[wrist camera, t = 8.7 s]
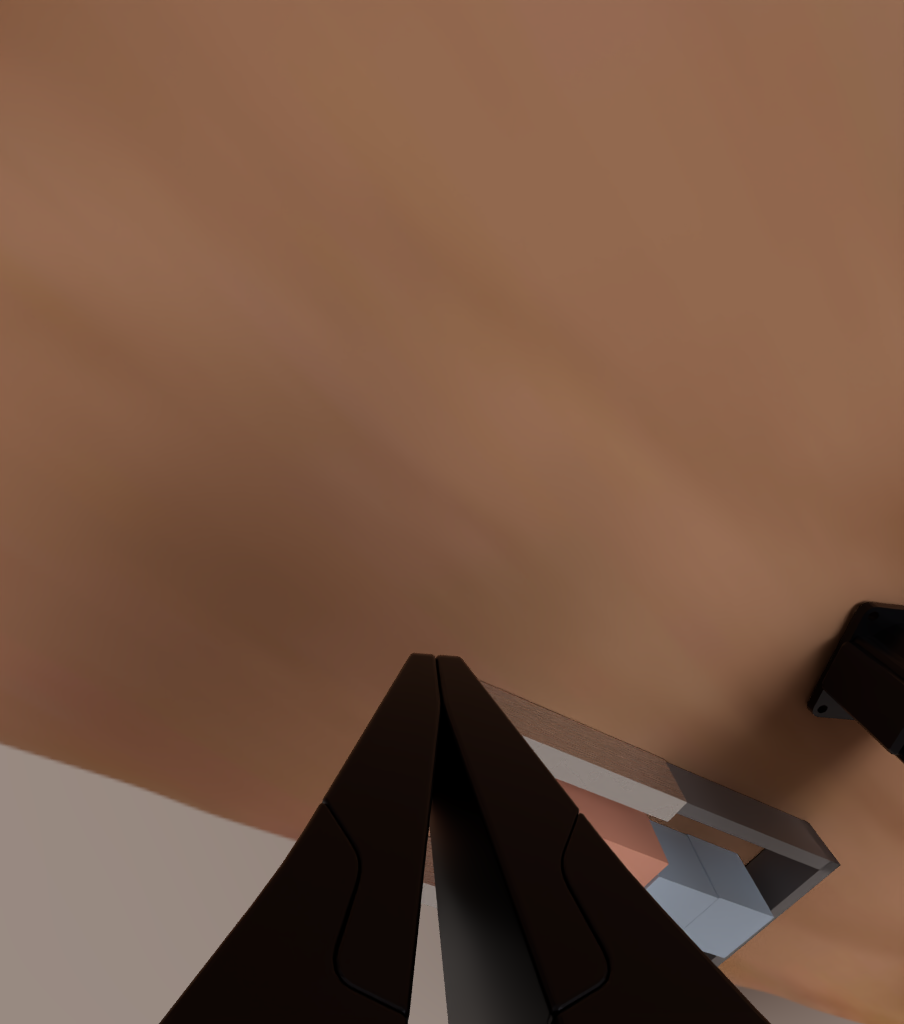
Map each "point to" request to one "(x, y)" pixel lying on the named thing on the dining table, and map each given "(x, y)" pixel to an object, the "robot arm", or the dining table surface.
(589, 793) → the block
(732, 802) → the chip tray
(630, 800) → the slot rails
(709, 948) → the blue-grey cube
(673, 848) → the blue cube
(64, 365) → the dining table surface
